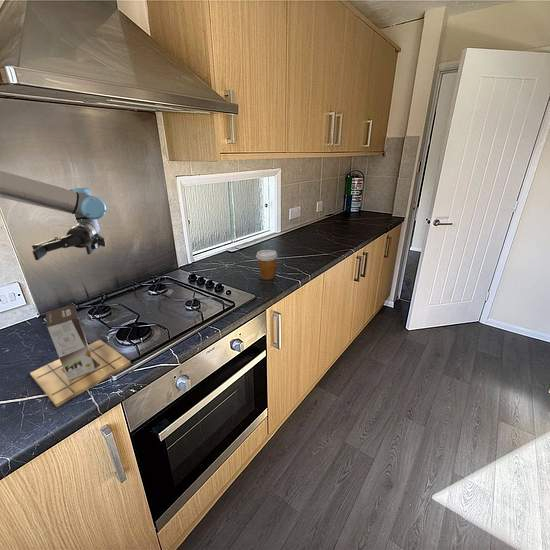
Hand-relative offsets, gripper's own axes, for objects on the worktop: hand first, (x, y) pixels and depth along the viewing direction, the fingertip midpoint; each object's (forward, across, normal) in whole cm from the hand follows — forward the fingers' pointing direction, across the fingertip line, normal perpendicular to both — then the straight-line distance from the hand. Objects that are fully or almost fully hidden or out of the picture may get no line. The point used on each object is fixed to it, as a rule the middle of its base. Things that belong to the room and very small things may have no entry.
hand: (62, 253), depth 87 cm
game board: (+22, -4, -27) cm, 36 cm away
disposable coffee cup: (-19, -69, -27) cm, 76 cm away
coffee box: (+22, -4, -26) cm, 34 cm away
